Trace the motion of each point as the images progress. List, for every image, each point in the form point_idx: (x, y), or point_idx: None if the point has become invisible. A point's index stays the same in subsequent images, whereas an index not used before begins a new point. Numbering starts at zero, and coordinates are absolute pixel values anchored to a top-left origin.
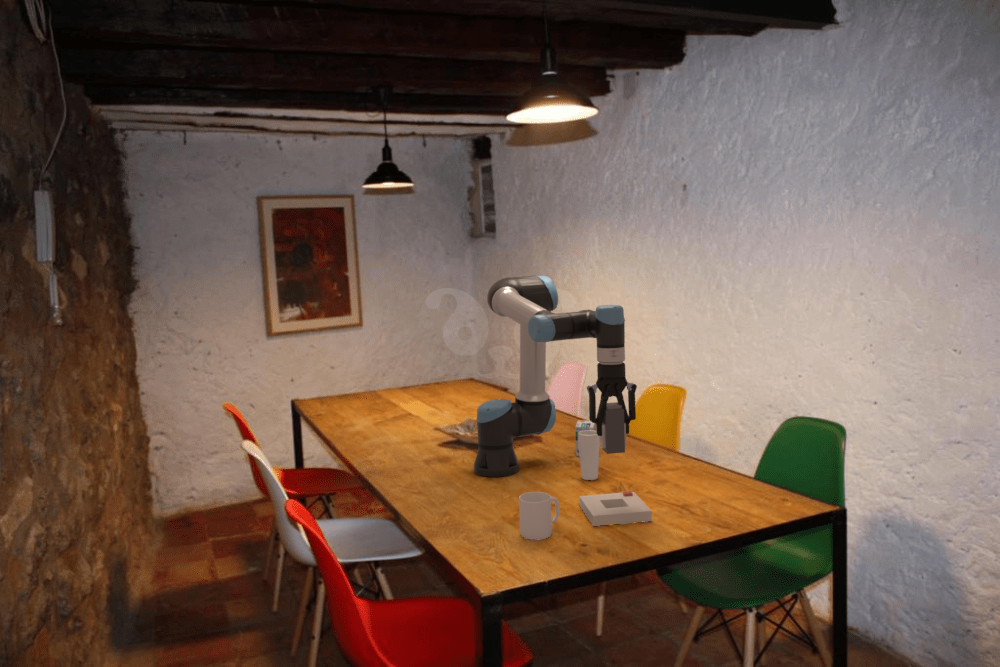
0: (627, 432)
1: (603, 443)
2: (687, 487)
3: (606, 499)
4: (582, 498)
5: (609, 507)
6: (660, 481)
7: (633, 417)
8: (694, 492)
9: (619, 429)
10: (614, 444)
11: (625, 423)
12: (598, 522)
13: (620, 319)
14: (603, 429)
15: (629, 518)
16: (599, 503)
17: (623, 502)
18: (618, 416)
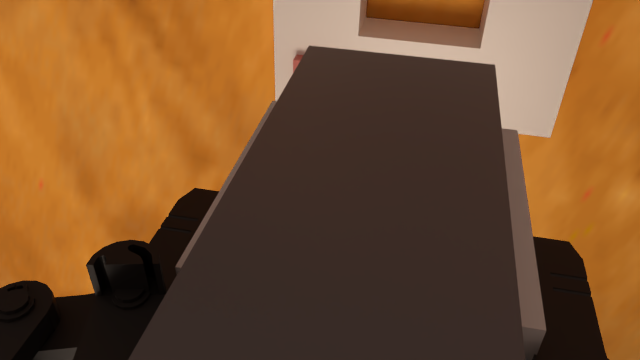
0: (200, 198)
1: (514, 159)
2: (51, 151)
3: (440, 49)
4: (551, 103)
5: (429, 28)
6: (135, 233)
7: (12, 307)
8: (31, 96)
9: (303, 190)
10: (404, 98)
11: (177, 266)
12: None
13: None
14: (522, 275)
15: None
16: (503, 4)
17: (361, 10)
18: (254, 356)
